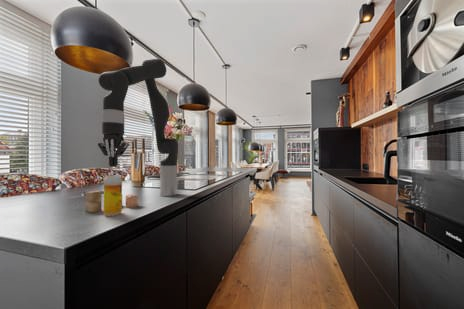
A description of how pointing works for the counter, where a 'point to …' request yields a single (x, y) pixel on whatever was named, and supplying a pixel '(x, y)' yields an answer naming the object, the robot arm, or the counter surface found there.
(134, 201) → the pinkish brown block
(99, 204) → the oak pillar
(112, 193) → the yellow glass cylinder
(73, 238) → the counter surface
